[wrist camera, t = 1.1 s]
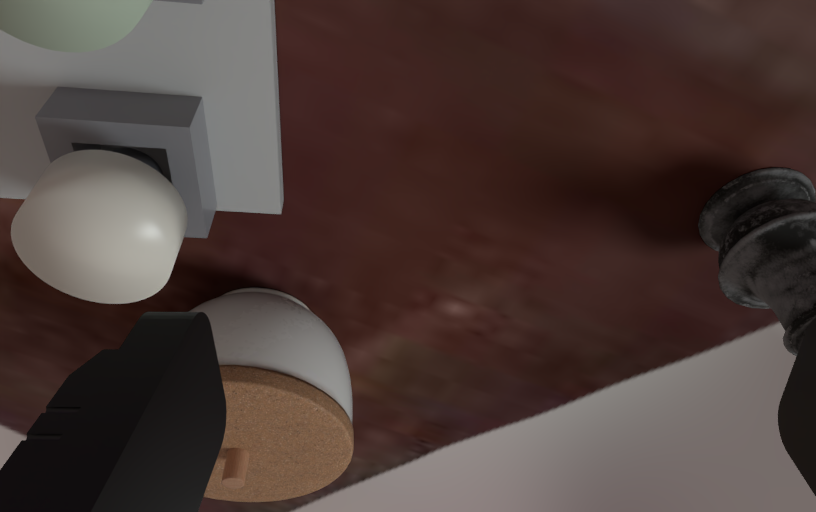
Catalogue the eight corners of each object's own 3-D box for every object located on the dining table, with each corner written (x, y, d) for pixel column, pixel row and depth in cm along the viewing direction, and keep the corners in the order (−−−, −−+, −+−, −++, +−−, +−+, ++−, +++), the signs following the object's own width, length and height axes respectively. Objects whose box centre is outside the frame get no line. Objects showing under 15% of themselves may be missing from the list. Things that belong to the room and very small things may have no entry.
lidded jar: (148, 247, 32) (82, 411, 25) (365, 262, 33) (359, 424, 26) (175, 377, 39) (130, 531, 32) (353, 386, 40) (345, 537, 33)
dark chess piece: (750, 270, 34) (876, 487, 25) (666, 232, 32) (771, 453, 23) (848, 191, 30) (1035, 411, 22) (760, 142, 28) (927, 363, 20)
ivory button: (45, 110, 23) (-12, 187, 20) (190, 121, 24) (158, 197, 21) (80, 219, 27) (37, 300, 24) (207, 226, 27) (181, 307, 24)
